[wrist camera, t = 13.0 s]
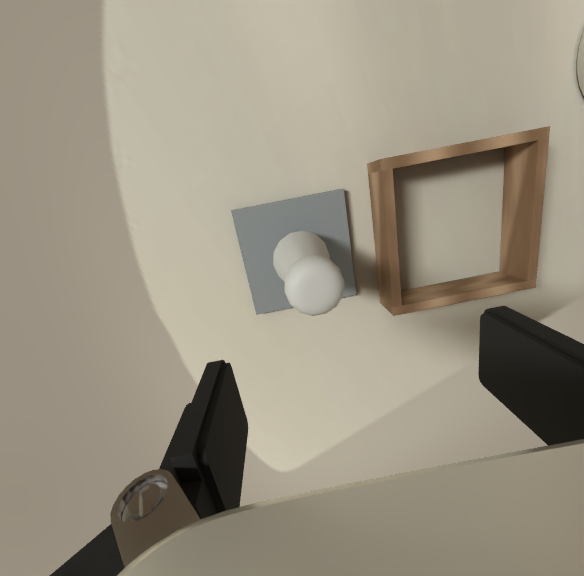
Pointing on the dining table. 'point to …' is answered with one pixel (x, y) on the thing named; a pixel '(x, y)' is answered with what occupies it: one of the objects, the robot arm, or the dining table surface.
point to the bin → (514, 235)
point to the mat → (279, 223)
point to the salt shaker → (308, 273)
